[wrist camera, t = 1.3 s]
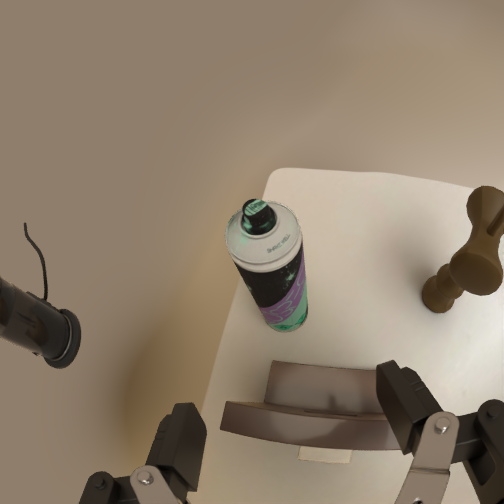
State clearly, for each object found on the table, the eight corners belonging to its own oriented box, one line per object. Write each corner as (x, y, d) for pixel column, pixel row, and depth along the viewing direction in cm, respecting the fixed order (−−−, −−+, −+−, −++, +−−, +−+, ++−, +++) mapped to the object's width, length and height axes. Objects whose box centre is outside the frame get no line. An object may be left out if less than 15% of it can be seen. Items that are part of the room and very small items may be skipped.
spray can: (259, 328, 34) (201, 240, 17) (269, 288, 36) (227, 175, 20) (303, 335, 32) (290, 249, 15) (311, 294, 35) (303, 178, 18)
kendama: (464, 279, 30) (538, 181, 14) (440, 337, 28) (537, 259, 11) (432, 258, 33) (490, 147, 16) (404, 314, 30) (478, 215, 14)
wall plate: (380, 437, 24) (435, 460, 10) (260, 425, 27) (215, 443, 14) (390, 372, 27) (449, 342, 14) (274, 362, 31) (242, 327, 18)
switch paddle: (345, 457, 17) (349, 464, 15) (298, 452, 19) (297, 459, 16) (351, 427, 19) (357, 430, 16) (305, 423, 20) (304, 426, 17)
